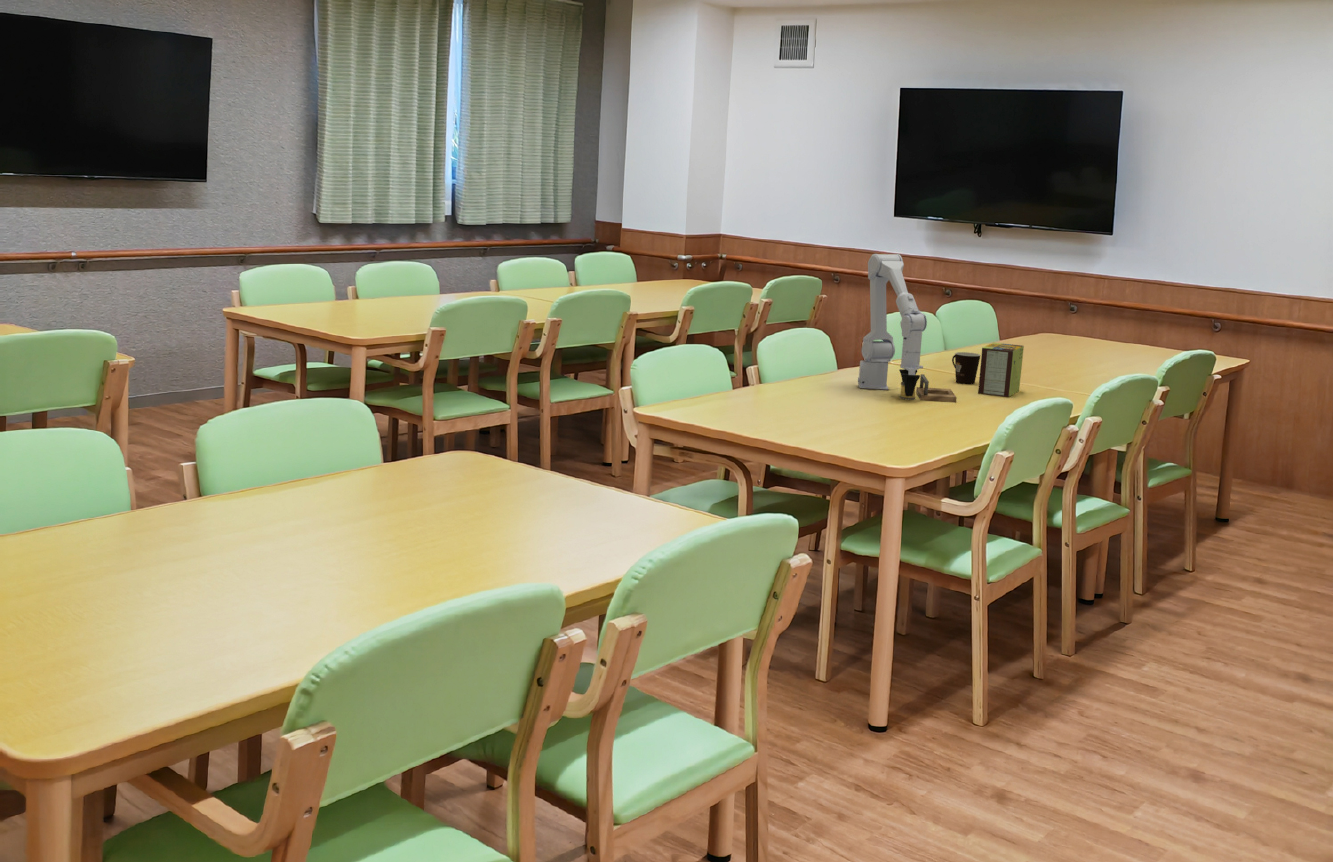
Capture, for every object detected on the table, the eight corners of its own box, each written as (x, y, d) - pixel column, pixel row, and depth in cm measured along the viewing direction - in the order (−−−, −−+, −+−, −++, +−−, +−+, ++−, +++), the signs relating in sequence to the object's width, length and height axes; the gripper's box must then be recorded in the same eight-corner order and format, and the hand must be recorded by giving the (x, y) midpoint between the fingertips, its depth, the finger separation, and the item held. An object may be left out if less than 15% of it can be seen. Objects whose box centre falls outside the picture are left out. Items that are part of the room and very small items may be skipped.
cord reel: (900, 399, 381) (901, 383, 380) (899, 396, 386) (900, 381, 385) (915, 400, 381) (917, 384, 380) (914, 397, 385) (915, 382, 384)
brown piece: (920, 400, 381) (922, 381, 380) (916, 391, 396) (917, 373, 394) (956, 402, 380) (957, 383, 379) (950, 393, 395) (951, 375, 393)
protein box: (1019, 391, 406) (1024, 345, 403) (1009, 397, 393) (1013, 350, 389) (988, 387, 411) (992, 342, 407) (977, 393, 397) (981, 347, 394)
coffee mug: (980, 385, 413) (983, 356, 411) (955, 384, 413) (957, 355, 411) (972, 379, 425) (975, 351, 423) (948, 378, 425) (950, 350, 423)
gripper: (926, 355, 373) (922, 398, 376) (921, 349, 387) (918, 390, 390) (903, 354, 373) (899, 397, 376) (899, 347, 387) (896, 389, 390)
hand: (907, 393), depth 383 cm, fingers open, 7 cm apart
